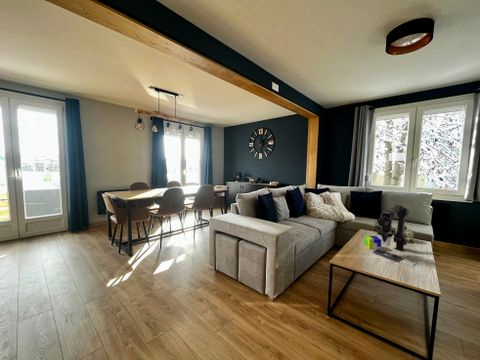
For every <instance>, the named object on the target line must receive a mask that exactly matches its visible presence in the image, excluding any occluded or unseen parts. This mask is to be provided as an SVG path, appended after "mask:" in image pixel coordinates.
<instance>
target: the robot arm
mask: <svg viewBox="0 0 480 360" xmlns="http://www.w3.org/2000/svg"><path fill="white" fill-rule="evenodd" d="M409 213H410V211H409V210H408V209H407V208H406V207H404V206H403V205H399V204H395V206H394V207H391V208H390V209H383V211H382V213H381V214H380V217H379V218H380V219H379V220H377V225H375V226H374V229H375V230H376V231H377V232H376V234H377V236H381V238H382V239H383V242H386V240H387V238H388V236H390V237H391V238H392V237H393V238H392V239H393V242H394V243H396V244H395V247H394V248H393V250H397V251H400V252H404V251H406V249H405V246H407V245H408V243H407V241H406V239H405V235H404V234H403V233H404V225H406V224H405V222H406V218H407V217H408V216H409ZM395 214H396V216H397V217H398V218H397V219H398V221H397V226H398V227H397V226H396V227H397V233H396V231H395V229H392V228H393V225H392V221H393V219H394V217H395ZM395 233H396V234H395Z"/></svg>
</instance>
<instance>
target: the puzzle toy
mask: <svg viewBox="0 0 480 360" xmlns="http://www.w3.org/2000/svg"><path fill="white" fill-rule="evenodd" d="M364 246H365V247H366V248H367V249H369V250H373V251H374V250H377V249H381V250H382V245H381V237H379V236H378V235H366V234H365V236H364Z"/></svg>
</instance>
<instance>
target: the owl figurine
mask: <svg viewBox="0 0 480 360" xmlns="http://www.w3.org/2000/svg"><path fill="white" fill-rule="evenodd" d="M397 227H398V225H396V227H395V229H394V230H395V231H396V233H397ZM396 233H395V234H396ZM403 234H404V235H405V239H406V241H407V244H415V241H414V240H415V237H414V231H412V230H411V228H408V227H407V225H406V224H404V233H403Z"/></svg>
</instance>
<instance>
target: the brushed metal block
mask: <svg viewBox="0 0 480 360" xmlns="http://www.w3.org/2000/svg"><path fill="white" fill-rule="evenodd" d="M380 239H381V246H384V247H387V248H388V247H390V246H391V241H392V237H390V236H388V238H387V240H386V242H383V239H382V237H380Z"/></svg>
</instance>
